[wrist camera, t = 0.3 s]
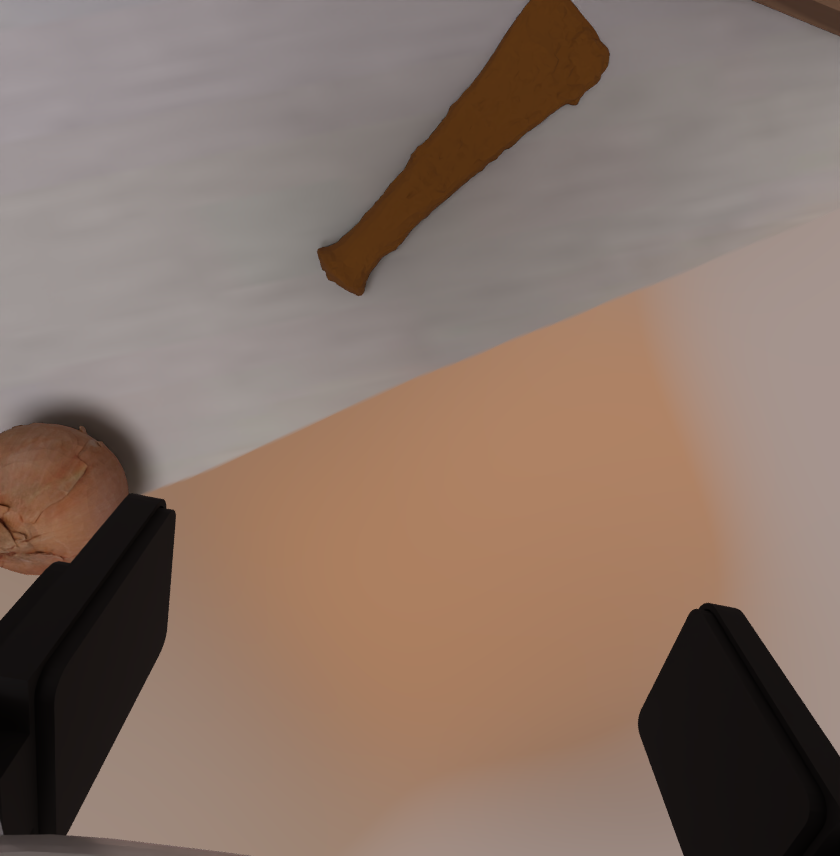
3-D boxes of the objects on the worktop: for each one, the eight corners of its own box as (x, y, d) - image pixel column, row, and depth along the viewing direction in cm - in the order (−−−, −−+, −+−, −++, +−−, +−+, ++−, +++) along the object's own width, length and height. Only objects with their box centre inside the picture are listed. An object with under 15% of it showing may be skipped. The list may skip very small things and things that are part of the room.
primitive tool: (548, -23, 33) (562, -40, 30) (616, 60, 35) (636, 53, 31) (312, 254, 39) (302, 264, 36) (379, 315, 40) (376, 330, 37)
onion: (-14, 459, 44) (-128, 542, 35) (64, 370, 41) (-38, 435, 32) (101, 543, 47) (23, 640, 38) (180, 465, 44) (117, 549, 35)
